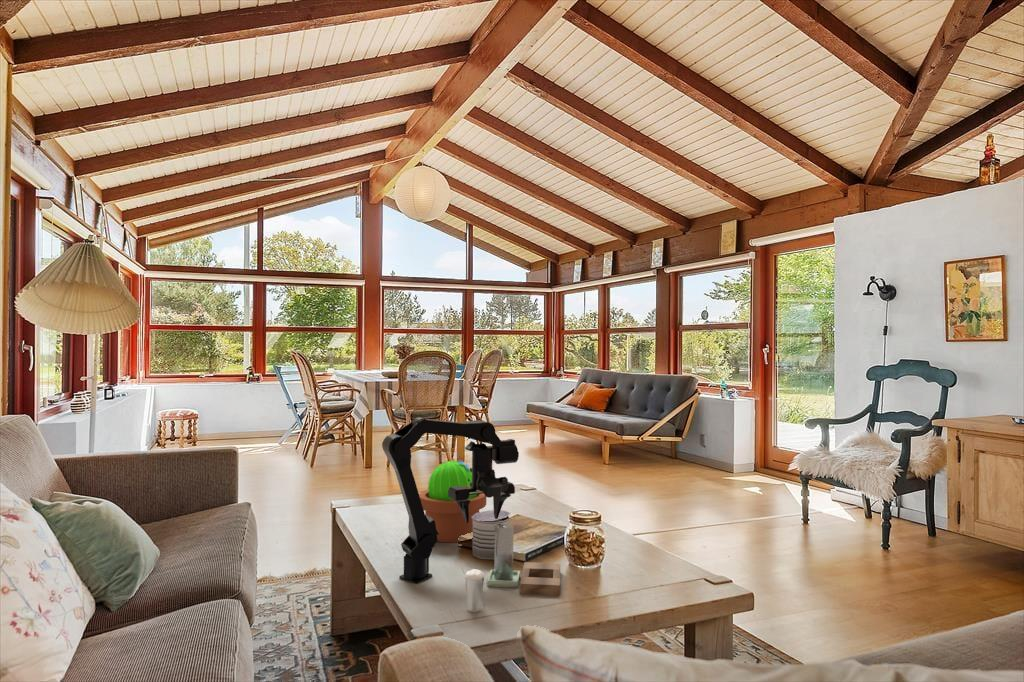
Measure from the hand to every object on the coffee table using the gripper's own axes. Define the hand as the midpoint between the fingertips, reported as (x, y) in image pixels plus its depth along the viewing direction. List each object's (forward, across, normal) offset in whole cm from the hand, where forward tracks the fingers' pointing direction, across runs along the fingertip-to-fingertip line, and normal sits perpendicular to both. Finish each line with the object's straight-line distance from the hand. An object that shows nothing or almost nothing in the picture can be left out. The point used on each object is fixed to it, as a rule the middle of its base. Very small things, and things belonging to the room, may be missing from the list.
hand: (481, 520), depth 179 cm
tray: (+13, 0, -12) cm, 18 cm away
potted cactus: (+13, +5, +31) cm, 34 cm away
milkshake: (+13, -15, -25) cm, 32 cm away
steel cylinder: (+12, 0, -12) cm, 18 cm away
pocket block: (+13, +8, -18) cm, 24 cm away
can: (+13, +8, +9) cm, 18 cm away
